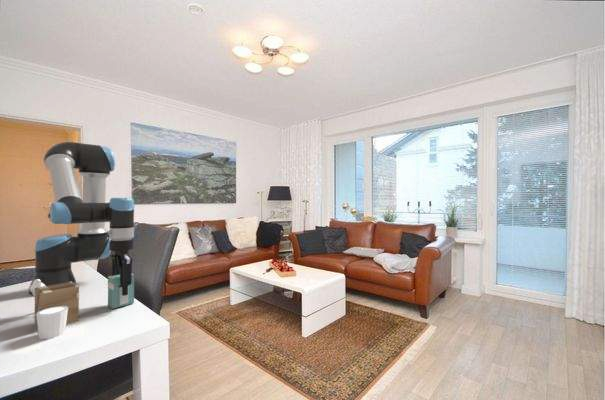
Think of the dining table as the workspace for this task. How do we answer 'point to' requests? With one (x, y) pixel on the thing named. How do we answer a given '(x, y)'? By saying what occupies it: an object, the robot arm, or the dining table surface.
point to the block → (114, 291)
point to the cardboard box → (58, 299)
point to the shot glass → (52, 322)
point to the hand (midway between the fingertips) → (121, 301)
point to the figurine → (36, 286)
